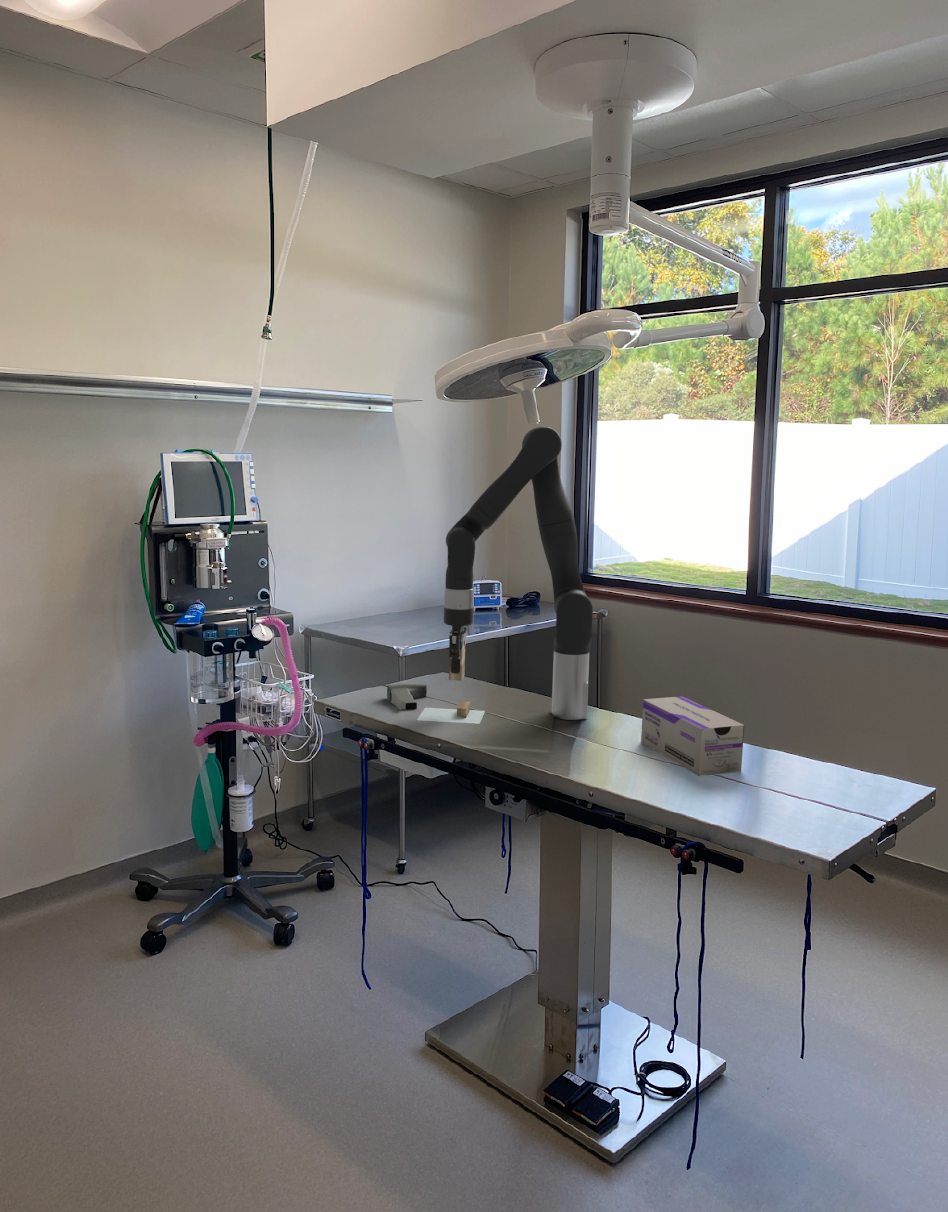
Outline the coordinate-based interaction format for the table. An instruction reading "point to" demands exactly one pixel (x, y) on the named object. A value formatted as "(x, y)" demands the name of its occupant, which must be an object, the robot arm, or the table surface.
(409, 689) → the infrared thermometer
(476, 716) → the silicone mat
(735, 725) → the surgical sutures box
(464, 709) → the rail
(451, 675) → the wooden block
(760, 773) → the table surface
